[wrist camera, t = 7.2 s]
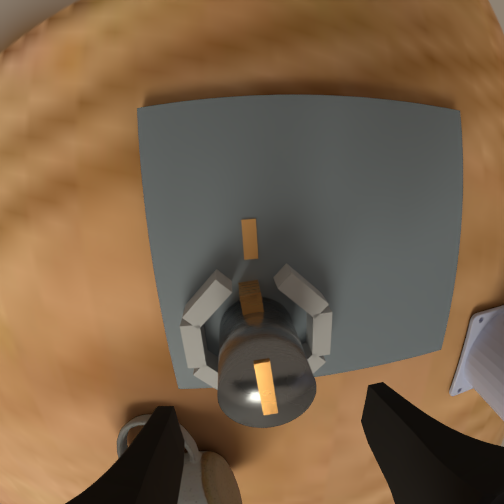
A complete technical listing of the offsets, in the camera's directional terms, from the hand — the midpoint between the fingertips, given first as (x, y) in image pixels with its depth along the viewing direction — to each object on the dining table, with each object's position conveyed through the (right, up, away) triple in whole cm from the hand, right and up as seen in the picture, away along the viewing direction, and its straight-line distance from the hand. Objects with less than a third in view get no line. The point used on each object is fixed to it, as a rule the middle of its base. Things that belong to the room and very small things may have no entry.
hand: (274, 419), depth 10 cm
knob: (-1, +2, +7) cm, 7 cm away
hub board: (+3, +6, +6) cm, 10 cm away
